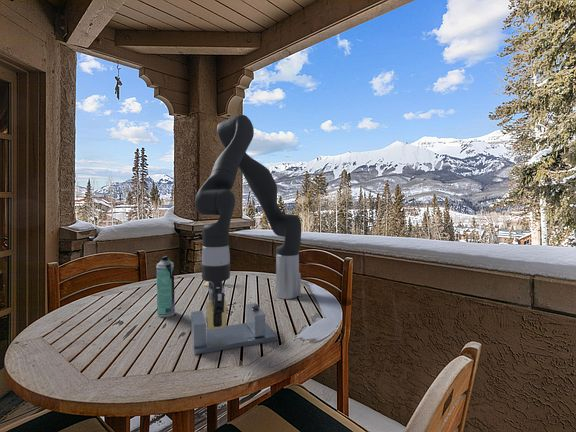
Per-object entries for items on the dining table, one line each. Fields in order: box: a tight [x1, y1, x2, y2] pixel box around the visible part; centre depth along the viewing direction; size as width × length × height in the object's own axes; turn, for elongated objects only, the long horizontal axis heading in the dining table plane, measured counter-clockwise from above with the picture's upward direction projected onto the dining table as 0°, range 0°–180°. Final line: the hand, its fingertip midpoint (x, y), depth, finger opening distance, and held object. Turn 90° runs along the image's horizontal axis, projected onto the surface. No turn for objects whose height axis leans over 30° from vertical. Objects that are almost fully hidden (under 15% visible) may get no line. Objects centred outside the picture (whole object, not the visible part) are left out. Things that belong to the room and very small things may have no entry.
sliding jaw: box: [245, 302, 266, 337], centre depth 89 cm, size 3×10×7 cm, turn 21°
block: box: [205, 298, 228, 330], centre depth 85 cm, size 5×4×7 cm
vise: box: [190, 310, 278, 355], centre depth 86 cm, size 22×12×7 cm, turn 111°
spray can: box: [156, 255, 176, 318], centre depth 104 cm, size 6×6×20 cm
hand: (216, 322), depth 85 cm, fingers closed on block, 4 cm apart
